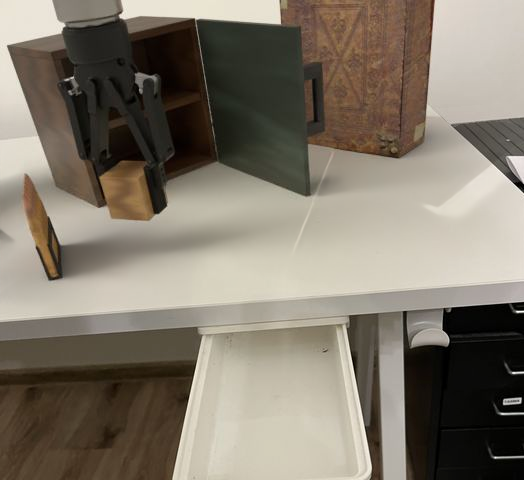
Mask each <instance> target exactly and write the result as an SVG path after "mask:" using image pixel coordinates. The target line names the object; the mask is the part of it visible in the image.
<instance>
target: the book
mask: <svg viewBox="0 0 524 480" xmlns="http://www.w3.org/2000/svg"><path fill="white" fill-rule="evenodd" d="M278 2H279V14H280V24H282V25H296V26H301V36H302V54H303V65H306V64H309V63H313V62H322V67H323V93H324V119H325V131H324V132H322V133H319V134H316V135H313V136H311V137H308V138H307V140H308V145H313V146H318V147H319V146H320V147H326V148H333V149H338V150H344V151H351V152H359V153H365V154H371V155H376V156H377V155H378V156H384V157H392V158H397V159H399V158H400V157H402V156H403V155H405V154H407V153H408V152H410V151H412V150H413V149H415V148H416V147H418V146H419V145H420V144H422V143H424V141H425V133H426V120H427V107H428V95H429V94H428V93H429V81H430V70H431V69H430V68H431V57H432V56H431V55H432V44H433V43H432V42H433V32H434V31H433V30H434V27H433V26H434V19H435V18H434V16H435V5H436V4H435V3H436V0H279V1H278ZM304 88H305V105H306V122H308V121H311V120H313V107H312V87H311V80H308V81H304Z"/></svg>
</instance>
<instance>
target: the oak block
mask: <svg viewBox="0 0 524 480" xmlns="http://www.w3.org/2000/svg"><path fill="white" fill-rule="evenodd" d="M147 164H148V163H147V161H121V162H120V163H118V164H117V165H115V166H114V167H113V168H111V169H110V170H108V171H107V172H106V173H104V174H103V175H102V176H100V177H99V178H100V181H101V185H102V188H103V192H104V195H105V199H106V202H107V205H106V206H107V208H108V209H107V210H108V212H109V216H110V219H111V220H125V221H141V222H142V221H143V222H150V221H151V220H152V219H153V218H154V217H155V216H156V215H157V214H154V212H153V207H152V203H151V199H150V195H149V190H148V186H147V182H146V177H145V174H144V170H143V167H144V166H145V165H147ZM164 192H165V197H166V202H167V204H169V200H168V195H167V190H166V186H165V187H164Z"/></svg>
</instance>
